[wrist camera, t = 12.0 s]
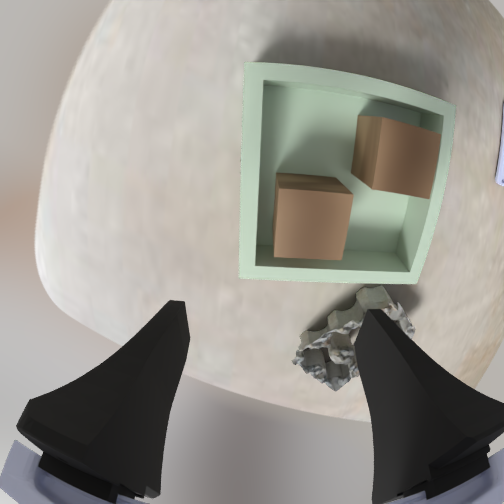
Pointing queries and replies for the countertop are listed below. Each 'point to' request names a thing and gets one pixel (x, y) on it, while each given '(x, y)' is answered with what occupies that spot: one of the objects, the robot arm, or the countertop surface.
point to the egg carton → (345, 338)
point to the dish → (333, 171)
